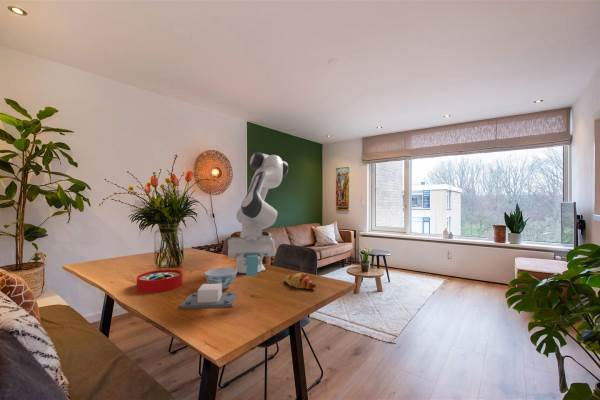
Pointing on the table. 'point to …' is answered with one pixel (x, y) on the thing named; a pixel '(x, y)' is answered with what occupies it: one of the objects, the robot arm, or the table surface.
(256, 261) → the teal brick
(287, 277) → the croissant
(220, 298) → the stack base
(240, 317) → the table surface
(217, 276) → the chinaware
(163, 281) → the toy clock
